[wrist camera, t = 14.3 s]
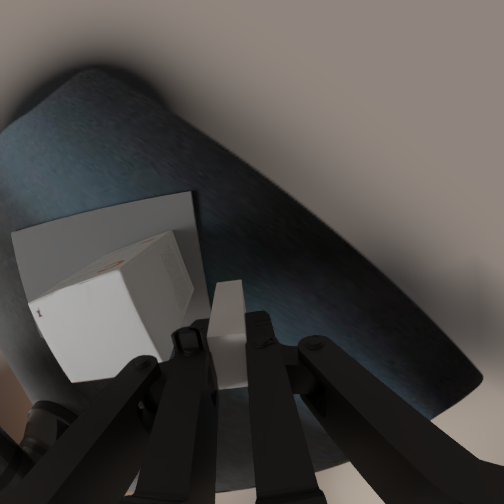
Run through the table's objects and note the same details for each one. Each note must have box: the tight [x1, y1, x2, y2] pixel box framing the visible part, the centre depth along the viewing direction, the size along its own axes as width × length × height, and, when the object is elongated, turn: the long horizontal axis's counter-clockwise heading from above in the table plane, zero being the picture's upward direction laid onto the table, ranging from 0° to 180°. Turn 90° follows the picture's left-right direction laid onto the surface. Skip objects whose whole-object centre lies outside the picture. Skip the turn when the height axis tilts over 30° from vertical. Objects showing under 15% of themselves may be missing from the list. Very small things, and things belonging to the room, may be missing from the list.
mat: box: [11, 191, 211, 338], centre depth 26 cm, size 24×14×1 cm, turn 97°
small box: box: [28, 231, 194, 383], centre depth 20 cm, size 8×6×13 cm
